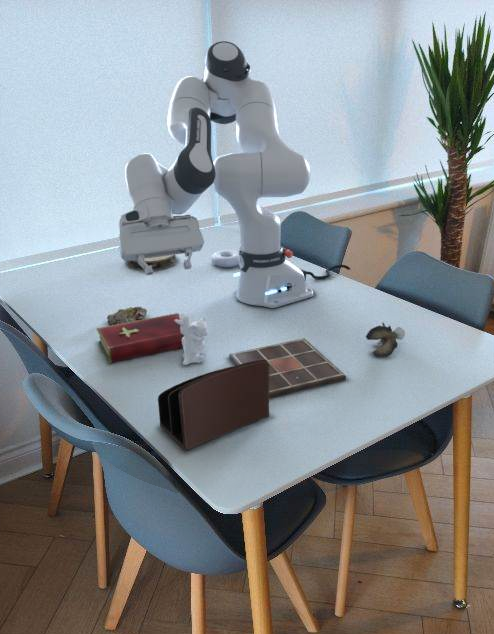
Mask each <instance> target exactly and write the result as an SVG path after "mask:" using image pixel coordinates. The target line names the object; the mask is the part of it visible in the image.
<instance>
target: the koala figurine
mask: <svg viewBox="0 0 494 634" xmlns="http://www.w3.org/2000/svg"><path fill="white" fill-rule="evenodd" d="M179 315H180V316H179V317H180V320H178V319H176V320H175V322H176V323H177V324H179V325H181V326H180V332H181V334H183V335H184V337H183V338H182V345H183V348H182V349H183V352H184V353H183V354H182V357H183V361H182V365H183V366H188V365H189V364H193V363H195V364H196V363H198V364H200V363H202V361H203V360H204V359H205V355H204V354H200V353H201V352H202V351H203V350H204V349H205V347H206V342H205V341H204V340H205V337H206V336H208V335H209V332H208V325H207V323H206V319H207V317H206V316H202V317H201V318H200V319H199V320H194V321H193V322H190V321H191V320H190V317H189V314H187V313H185V312H182V313H180V314H179Z"/></svg>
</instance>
